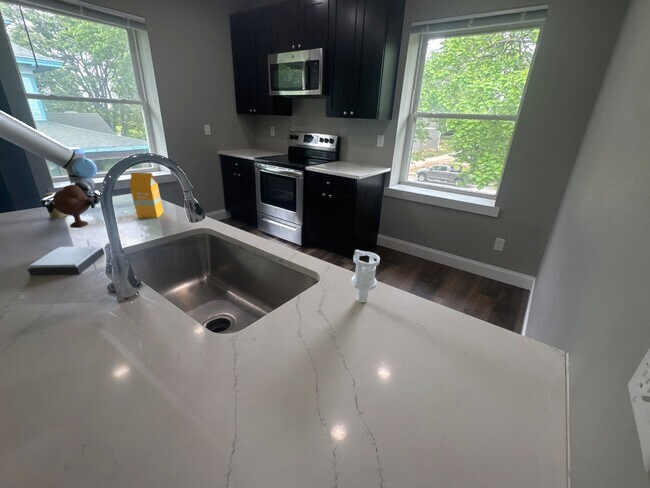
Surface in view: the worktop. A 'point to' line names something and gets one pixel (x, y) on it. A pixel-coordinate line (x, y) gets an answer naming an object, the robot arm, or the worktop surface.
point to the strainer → (364, 274)
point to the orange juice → (146, 195)
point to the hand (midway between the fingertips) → (70, 206)
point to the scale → (66, 261)
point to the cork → (54, 213)
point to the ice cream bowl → (72, 204)
